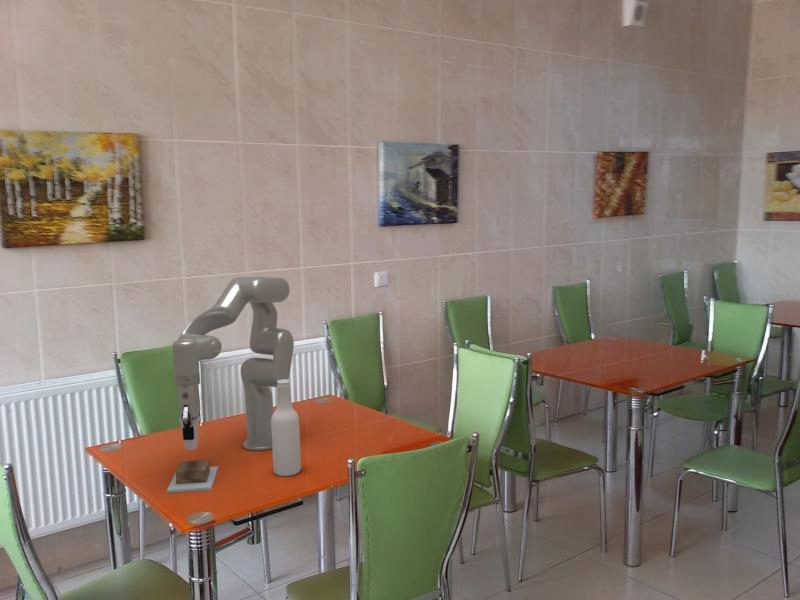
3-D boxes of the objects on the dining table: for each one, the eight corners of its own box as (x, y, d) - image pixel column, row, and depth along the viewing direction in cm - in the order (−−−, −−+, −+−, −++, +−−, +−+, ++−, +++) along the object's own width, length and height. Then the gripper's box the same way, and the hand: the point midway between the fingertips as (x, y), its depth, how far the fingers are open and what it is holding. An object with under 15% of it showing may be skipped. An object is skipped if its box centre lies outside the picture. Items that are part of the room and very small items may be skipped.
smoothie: (182, 444, 232) (180, 401, 230) (203, 444, 232) (201, 400, 231) (178, 451, 226) (175, 407, 224) (199, 450, 226) (197, 406, 224)
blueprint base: (218, 468, 240) (217, 454, 240) (211, 490, 222) (210, 474, 222) (177, 471, 239) (176, 457, 238) (166, 493, 221) (165, 477, 220)
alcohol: (278, 479, 230) (274, 385, 226) (269, 470, 238) (265, 379, 234) (305, 473, 234) (301, 381, 230) (295, 465, 242) (291, 375, 238)
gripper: (195, 385, 218) (198, 444, 220) (203, 372, 235) (206, 427, 237) (169, 387, 217) (173, 445, 220) (179, 373, 234) (182, 428, 237)
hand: (190, 435), depth 228 cm, fingers closed on smoothie, 6 cm apart
